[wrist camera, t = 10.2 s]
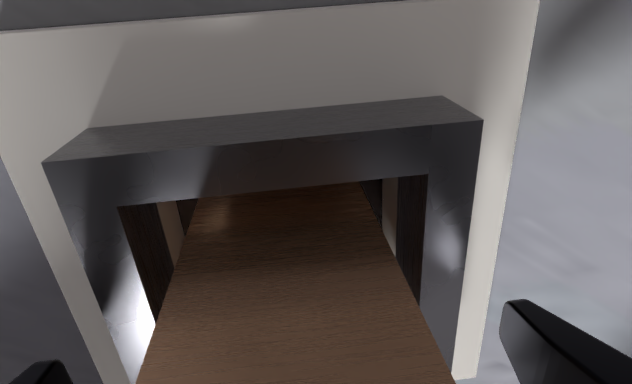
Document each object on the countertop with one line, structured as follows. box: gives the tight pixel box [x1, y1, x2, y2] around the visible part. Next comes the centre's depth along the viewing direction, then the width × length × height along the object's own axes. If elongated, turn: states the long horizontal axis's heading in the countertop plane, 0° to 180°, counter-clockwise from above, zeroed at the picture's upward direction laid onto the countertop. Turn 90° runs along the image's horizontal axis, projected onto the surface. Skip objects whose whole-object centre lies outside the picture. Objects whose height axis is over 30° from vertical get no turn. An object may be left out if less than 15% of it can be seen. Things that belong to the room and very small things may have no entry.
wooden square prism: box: [135, 181, 456, 384], centre depth 8 cm, size 4×4×9 cm
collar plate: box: [0, 0, 540, 384], centre depth 11 cm, size 12×12×4 cm
